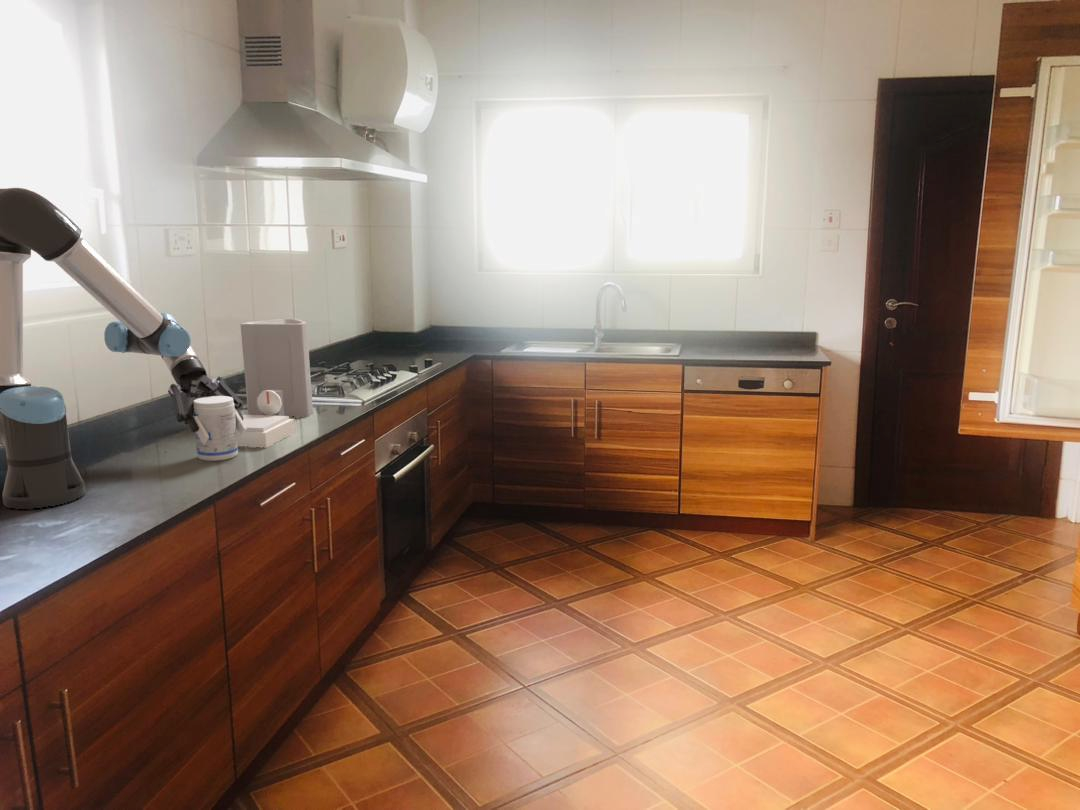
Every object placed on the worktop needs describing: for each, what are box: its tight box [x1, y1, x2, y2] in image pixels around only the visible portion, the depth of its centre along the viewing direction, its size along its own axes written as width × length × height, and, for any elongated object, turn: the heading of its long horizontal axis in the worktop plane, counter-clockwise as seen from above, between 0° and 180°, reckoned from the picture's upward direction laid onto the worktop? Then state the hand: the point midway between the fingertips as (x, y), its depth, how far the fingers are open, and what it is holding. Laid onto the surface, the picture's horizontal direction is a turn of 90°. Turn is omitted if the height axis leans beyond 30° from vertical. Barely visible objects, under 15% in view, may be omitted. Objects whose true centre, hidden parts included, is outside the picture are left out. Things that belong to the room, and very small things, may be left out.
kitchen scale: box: [236, 390, 296, 449], centre depth 226 cm, size 21×16×12 cm
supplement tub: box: [193, 396, 239, 462], centre depth 207 cm, size 10×10×15 cm
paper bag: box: [239, 318, 314, 418], centre depth 256 cm, size 19×15×28 cm
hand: (225, 436), depth 204 cm, fingers closed on supplement tub, 9 cm apart
